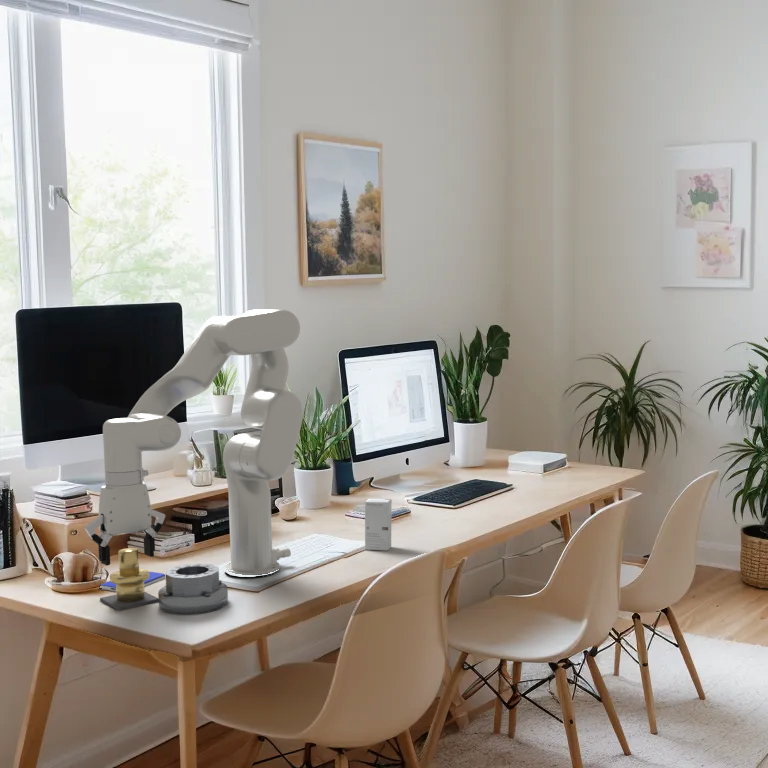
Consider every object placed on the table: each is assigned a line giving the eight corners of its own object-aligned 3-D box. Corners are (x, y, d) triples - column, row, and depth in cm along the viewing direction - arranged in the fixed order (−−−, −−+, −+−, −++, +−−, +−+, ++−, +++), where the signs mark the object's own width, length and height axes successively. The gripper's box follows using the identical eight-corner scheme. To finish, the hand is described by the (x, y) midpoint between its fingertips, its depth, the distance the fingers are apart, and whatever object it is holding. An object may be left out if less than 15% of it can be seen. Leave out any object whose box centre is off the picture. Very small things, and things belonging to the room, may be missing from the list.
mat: (140, 592, 217) (139, 589, 217) (159, 601, 210) (159, 598, 210) (100, 600, 212) (99, 597, 212) (118, 610, 205) (118, 607, 205)
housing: (207, 589, 218) (205, 557, 217) (240, 604, 207) (239, 571, 207) (147, 603, 209) (145, 570, 209) (178, 619, 198) (177, 584, 198)
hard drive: (137, 569, 232) (98, 584, 221) (165, 573, 228) (127, 588, 217) (137, 576, 232) (98, 591, 221) (165, 580, 228) (127, 595, 217)
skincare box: (364, 550, 249) (363, 501, 248) (368, 545, 253) (367, 497, 252) (389, 551, 247) (388, 502, 246) (392, 546, 252) (391, 498, 251)
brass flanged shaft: (139, 589, 217) (137, 543, 216) (157, 598, 211) (154, 550, 210) (104, 597, 212) (101, 550, 211) (121, 606, 206) (118, 557, 205)
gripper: (154, 470, 217) (157, 549, 219) (76, 481, 206) (80, 564, 208) (170, 475, 211) (173, 555, 213) (91, 486, 200) (95, 571, 202)
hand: (127, 559), depth 210 cm, fingers open, 9 cm apart
